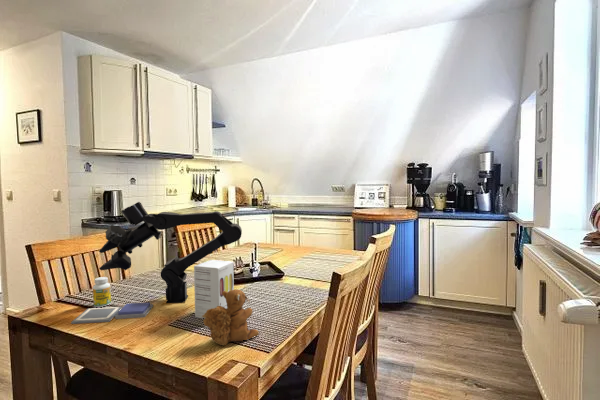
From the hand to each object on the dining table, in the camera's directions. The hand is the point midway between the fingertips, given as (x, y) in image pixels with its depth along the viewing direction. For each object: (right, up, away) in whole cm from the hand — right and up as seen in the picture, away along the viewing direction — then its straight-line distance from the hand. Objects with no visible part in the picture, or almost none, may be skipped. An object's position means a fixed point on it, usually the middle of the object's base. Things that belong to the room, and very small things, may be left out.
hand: (100, 260), depth 123 cm
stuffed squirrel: (+50, -18, -25) cm, 59 cm away
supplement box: (+42, -16, -8) cm, 46 cm away
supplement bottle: (+1, -16, 0) cm, 16 cm away
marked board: (+4, -16, -9) cm, 19 cm away
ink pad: (+15, -16, -6) cm, 23 cm away
